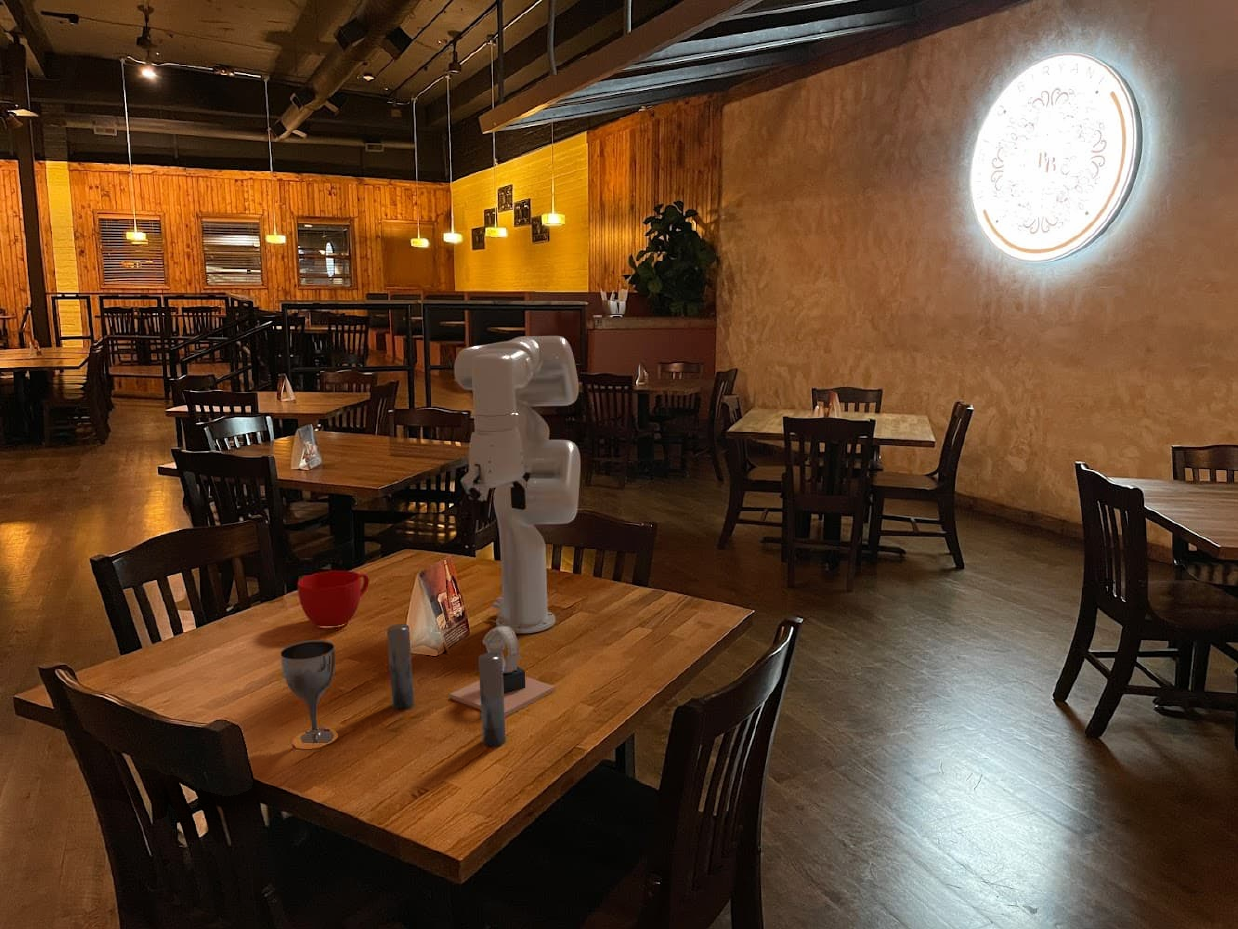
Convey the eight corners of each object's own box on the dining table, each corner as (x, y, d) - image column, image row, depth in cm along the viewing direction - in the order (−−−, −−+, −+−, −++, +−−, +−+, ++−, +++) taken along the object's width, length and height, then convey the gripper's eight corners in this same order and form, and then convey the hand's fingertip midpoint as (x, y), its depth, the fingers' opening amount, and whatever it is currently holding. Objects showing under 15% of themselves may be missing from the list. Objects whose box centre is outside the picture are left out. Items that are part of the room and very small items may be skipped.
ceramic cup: (389, 614, 198) (386, 571, 196) (328, 638, 184) (324, 592, 182) (350, 604, 205) (346, 563, 203) (288, 627, 191) (284, 583, 189)
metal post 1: (388, 706, 152) (382, 629, 150) (404, 698, 155) (399, 622, 152) (402, 711, 150) (396, 633, 147) (418, 703, 153) (413, 626, 150)
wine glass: (296, 728, 145) (288, 641, 142) (346, 725, 146) (339, 638, 143) (282, 752, 137) (273, 660, 134) (335, 749, 138) (327, 658, 135)
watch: (508, 675, 162) (506, 618, 160) (530, 691, 155) (528, 631, 153) (480, 683, 159) (478, 625, 157) (501, 699, 152) (499, 638, 150)
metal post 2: (477, 742, 139) (473, 658, 137) (494, 733, 142) (490, 650, 139) (494, 749, 137) (490, 663, 134) (510, 740, 140) (506, 655, 137)
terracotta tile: (449, 698, 155) (449, 694, 155) (502, 673, 165) (502, 669, 165) (503, 718, 147) (503, 713, 147) (555, 690, 157) (555, 686, 157)
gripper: (513, 414, 169) (517, 501, 172) (445, 428, 155) (451, 522, 159) (543, 417, 164) (546, 507, 168) (475, 432, 151) (480, 529, 154)
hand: (500, 514), depth 163 cm, fingers open, 9 cm apart
